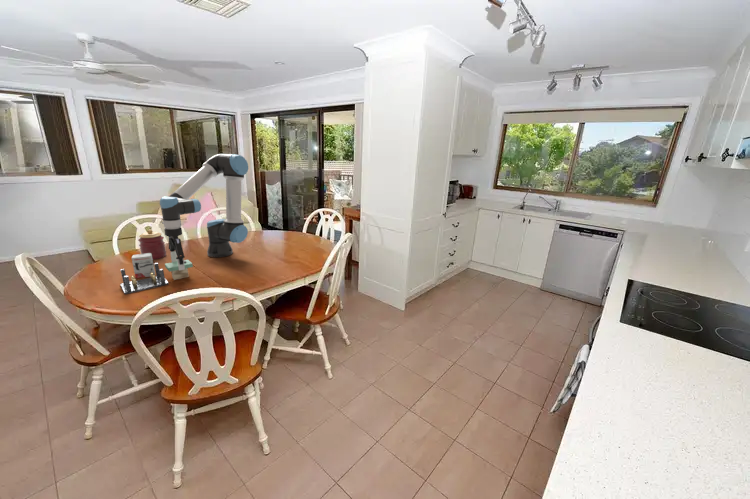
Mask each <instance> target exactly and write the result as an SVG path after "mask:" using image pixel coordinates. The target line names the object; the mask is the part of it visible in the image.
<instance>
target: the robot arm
mask: <svg viewBox="0 0 750 499" xmlns="http://www.w3.org/2000/svg"><path fill="white" fill-rule="evenodd" d="M248 171H249V163H248V161H247V159H246V158H245V157H244V156H243V155H241V154H237V153H235V154H234V153H218V154H214V155H213V156H211V157H210V158H208V159H207V160H206V161H204V162H203V164H202V167H201V168H200V169H198V171H196V172H195V173H194V174H193V175H191V177H189V178H188V179H187V180H186V181H184V183H183V184H182V185H180V186H179V187H178V188H177V189H176V190H174V192H172V193H171V194H170V195H167V196H162V197H161V198H160V200H159V206H160V209H161V215H162V221H163V222H162V221H161V223H162V224H163V227H164V229H163V230H164V234H165V236H166V237H167V238H168V250H169V253H170V260H171V263H172V262H177V261H178V268H179V271H180V270H185V265H184V260H185V259H184V258H185V254H184V250H183V245H182V240H181V238H179V236H182V235H183V229H182V223H181V222H182V221H181V216H183V215H188V214H195V213H199V212H200V211H201V210H202V204H201V201H200V200H199V199H197V198H191V197H192V196H194V195H196V193H197V192H198V191H199V190H200V189H201V188H202V187H203V186H205V185H206V184H207V183H208V182H209V181H210V180H211V179H212V178H216V177H217V176H218V175H220V174H222V175H223V177H224V179H225V182H226V183H225V208H226V209H225V212H226V213H225V214H226V216H225V217H226V218H219V219H218V218H217V219H212V220H208V222H207V223H206V229H207V236H208V247H207V251H206V252H207V253H206V254H207V256H208V257H210V258H223V257H228V256H231V255H232V254H233V252H234V251H233V247H232V245H231V243H236V244H240V243H243V242H244V241H245V240H246V238H247V237H248V234H249V232H248V231H249V230H248V228H247V226H245V224H244V222H245V221H244V220H243V219H242V180H243V179H245V175H247V173H248ZM230 242H231V243H230Z"/></svg>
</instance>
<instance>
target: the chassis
mask: <svg viewBox="0 0 750 499" xmlns="http://www.w3.org/2000/svg"><path fill="white" fill-rule="evenodd" d="M153 264H154V270H155V275H154V273H153V272H151V273H150V275H151V276H150V277H145V278H140V279H137V278H136V277H135V275H130V277H129V275H126V274H127V273H126V270H125V268H121V269H120V274H121V277H122V278H121V279H122V283H119V284H120V288H121V289H122V291H123V293H124V295H128V294H133V293H137V292H143V291H145V290H146V291H147V290H151V289H156V288H161V287H165V286H169V285H170V284H169V281H168V280H167V279H166V278H165V272H164V269H163V268H160V266H159V263H158V262H155V263H154V262H153ZM130 279H131V281H130Z"/></svg>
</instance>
